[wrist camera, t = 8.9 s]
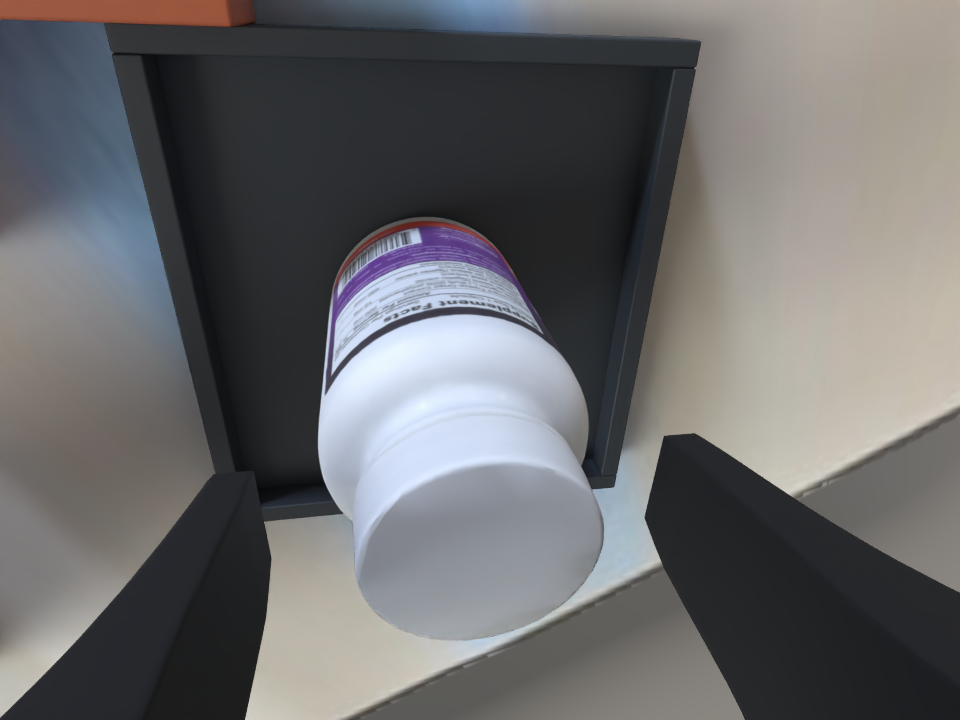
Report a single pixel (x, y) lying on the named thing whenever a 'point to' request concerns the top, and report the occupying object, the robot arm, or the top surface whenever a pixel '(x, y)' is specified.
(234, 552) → the robot arm
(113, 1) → the terracotta bin
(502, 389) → the pill bottle
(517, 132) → the charcoal tray
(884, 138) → the top surface
